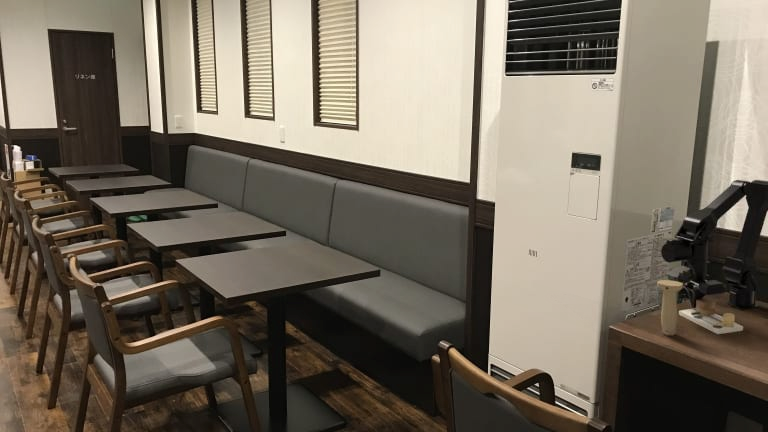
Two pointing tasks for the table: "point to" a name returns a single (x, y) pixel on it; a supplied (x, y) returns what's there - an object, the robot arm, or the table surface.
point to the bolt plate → (713, 321)
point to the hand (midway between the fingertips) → (694, 307)
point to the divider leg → (704, 307)
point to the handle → (669, 305)
